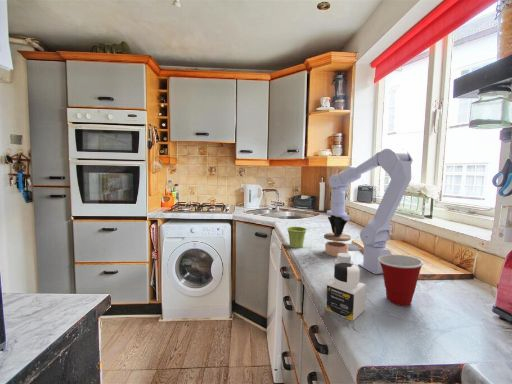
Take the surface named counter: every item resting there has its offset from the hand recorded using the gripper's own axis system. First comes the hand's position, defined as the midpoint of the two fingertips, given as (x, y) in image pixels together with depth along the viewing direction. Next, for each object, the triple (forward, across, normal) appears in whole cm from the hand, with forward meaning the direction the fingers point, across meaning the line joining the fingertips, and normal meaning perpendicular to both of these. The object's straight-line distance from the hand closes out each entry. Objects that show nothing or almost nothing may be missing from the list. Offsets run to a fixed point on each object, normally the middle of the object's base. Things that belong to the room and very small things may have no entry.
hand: (337, 233), depth 107 cm
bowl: (+9, 0, 0) cm, 9 cm away
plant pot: (+9, +15, +12) cm, 22 cm away
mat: (+9, +7, -10) cm, 15 cm away
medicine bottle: (+9, -40, +22) cm, 47 cm away
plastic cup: (+9, -39, +5) cm, 40 cm away
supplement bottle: (+9, -28, +15) cm, 33 cm away
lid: (+2, 0, 0) cm, 2 cm away
